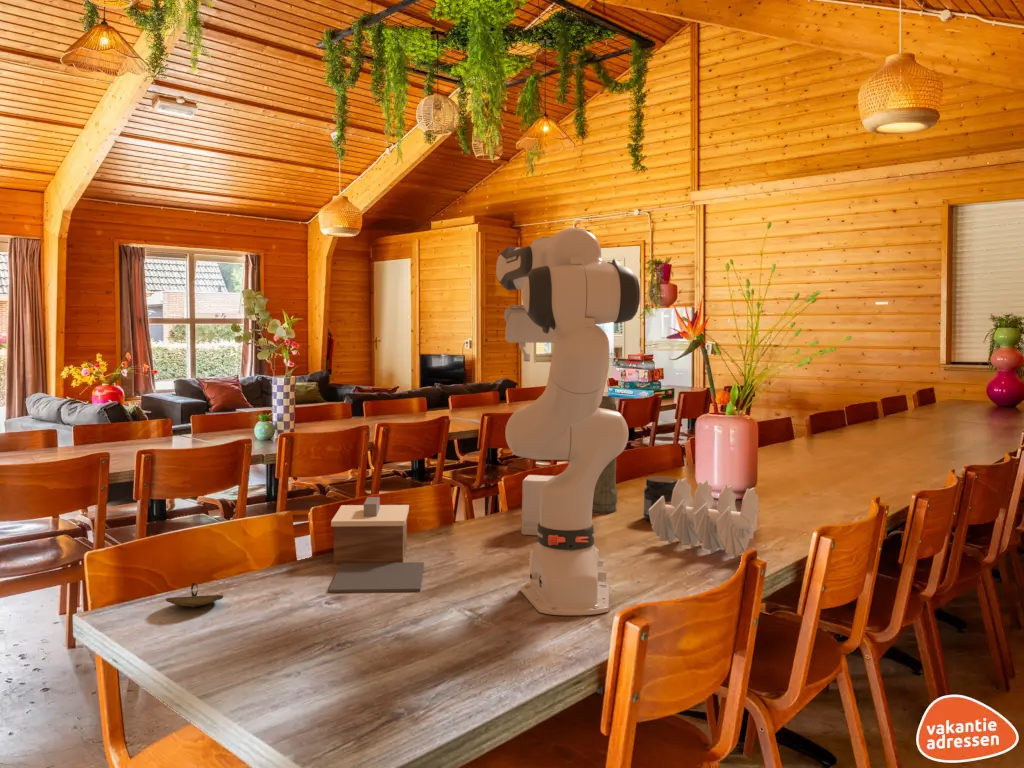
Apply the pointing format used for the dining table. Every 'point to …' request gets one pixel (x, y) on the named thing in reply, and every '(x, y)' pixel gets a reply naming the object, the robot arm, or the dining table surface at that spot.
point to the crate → (369, 544)
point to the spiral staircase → (706, 518)
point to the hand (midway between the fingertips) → (545, 361)
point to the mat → (378, 577)
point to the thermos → (606, 476)
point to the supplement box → (532, 502)
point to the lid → (194, 599)
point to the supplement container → (657, 492)
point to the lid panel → (380, 520)
